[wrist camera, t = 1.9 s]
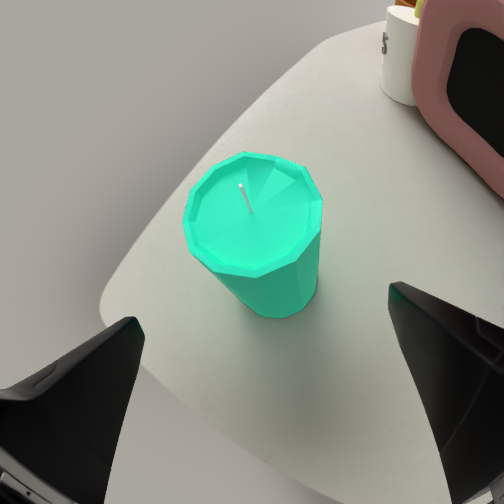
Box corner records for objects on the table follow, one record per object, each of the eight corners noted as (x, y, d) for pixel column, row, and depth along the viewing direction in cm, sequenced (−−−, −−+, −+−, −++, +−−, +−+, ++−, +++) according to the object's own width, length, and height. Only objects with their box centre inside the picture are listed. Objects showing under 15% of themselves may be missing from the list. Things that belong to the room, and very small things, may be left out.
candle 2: (375, 72, 28) (380, -32, 14) (422, 80, 26) (439, -18, 13) (381, 101, 26) (393, -20, 12) (434, 110, 24) (462, -1, 11)
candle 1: (298, 331, 19) (286, 293, 8) (224, 300, 21) (137, 231, 10) (329, 256, 21) (344, 145, 10) (256, 230, 23) (210, 118, 12)
